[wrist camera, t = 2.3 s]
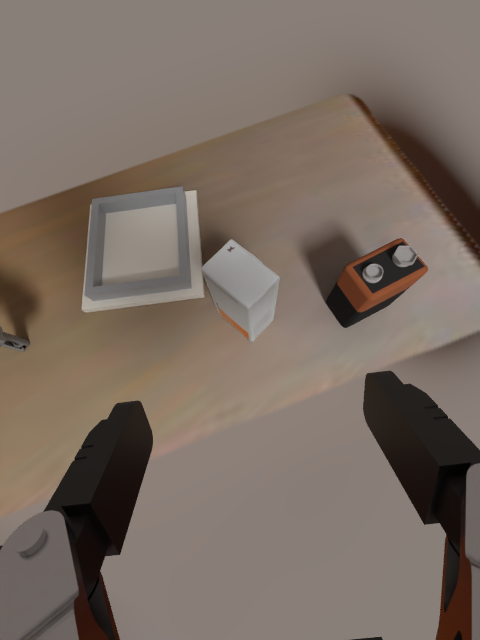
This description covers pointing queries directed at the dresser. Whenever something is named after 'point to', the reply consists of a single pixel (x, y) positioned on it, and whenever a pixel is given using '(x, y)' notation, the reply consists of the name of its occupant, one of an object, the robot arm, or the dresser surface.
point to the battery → (375, 281)
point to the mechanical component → (12, 341)
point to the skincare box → (242, 289)
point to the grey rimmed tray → (143, 250)
